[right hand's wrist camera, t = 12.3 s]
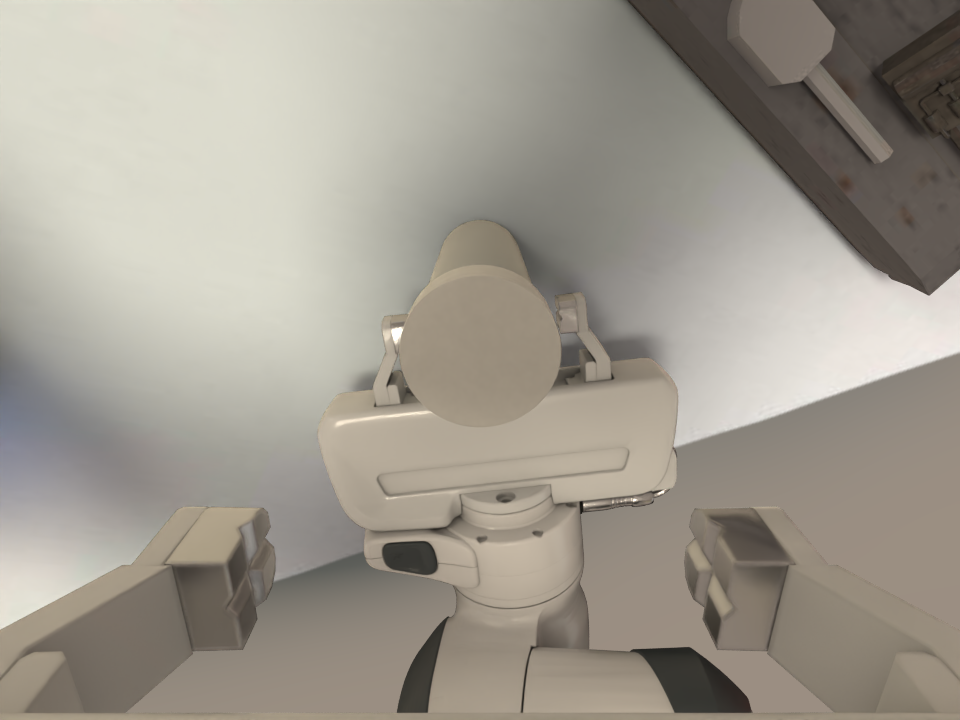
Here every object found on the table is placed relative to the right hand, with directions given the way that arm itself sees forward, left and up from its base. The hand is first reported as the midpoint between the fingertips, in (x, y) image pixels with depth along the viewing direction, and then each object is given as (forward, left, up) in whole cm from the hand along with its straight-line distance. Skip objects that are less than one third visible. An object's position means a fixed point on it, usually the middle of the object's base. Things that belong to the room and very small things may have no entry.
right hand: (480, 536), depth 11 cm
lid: (0, 0, -10) cm, 10 cm away
